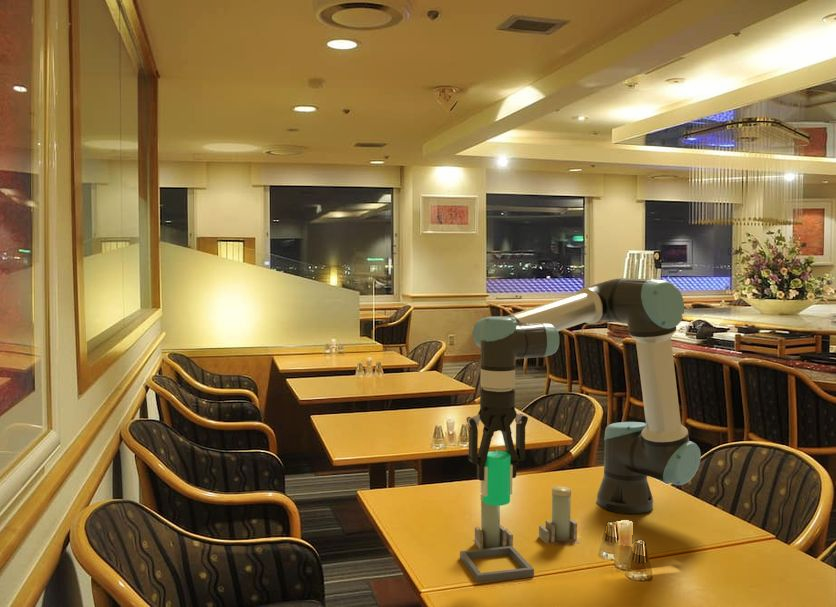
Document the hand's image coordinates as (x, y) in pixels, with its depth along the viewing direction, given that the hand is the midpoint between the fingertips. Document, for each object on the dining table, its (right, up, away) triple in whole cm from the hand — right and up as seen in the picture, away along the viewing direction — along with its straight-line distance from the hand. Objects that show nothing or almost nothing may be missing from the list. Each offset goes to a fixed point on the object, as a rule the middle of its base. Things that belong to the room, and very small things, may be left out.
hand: (496, 493), depth 158 cm
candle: (0, -2, 0) cm, 2 cm away
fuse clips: (+9, -17, +14) cm, 24 cm away
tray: (0, -18, +1) cm, 18 cm away
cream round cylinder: (+18, -15, +18) cm, 29 cm away
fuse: (0, -16, +13) cm, 20 cm away
